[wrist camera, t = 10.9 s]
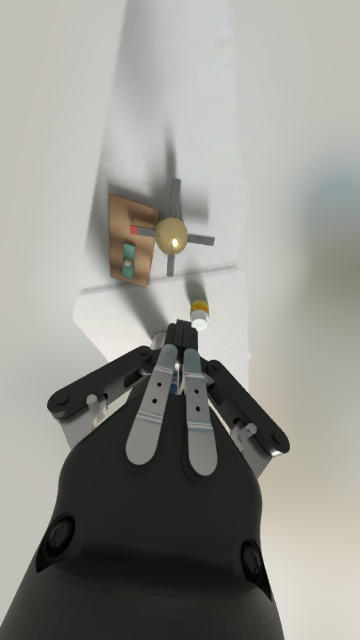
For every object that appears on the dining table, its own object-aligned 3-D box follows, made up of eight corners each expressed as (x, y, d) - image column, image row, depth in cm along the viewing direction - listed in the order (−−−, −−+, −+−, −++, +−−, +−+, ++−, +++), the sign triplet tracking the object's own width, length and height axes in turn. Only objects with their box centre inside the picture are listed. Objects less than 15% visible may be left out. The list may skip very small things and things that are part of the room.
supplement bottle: (207, 313, 47) (208, 333, 40) (190, 311, 48) (188, 331, 40) (209, 298, 44) (211, 317, 37) (191, 297, 45) (189, 315, 37)
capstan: (222, 188, 29) (228, 184, 24) (204, 273, 39) (205, 284, 34) (135, 176, 29) (121, 170, 24) (140, 263, 40) (130, 273, 34)
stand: (148, 283, 43) (143, 291, 40) (114, 273, 43) (106, 280, 39) (159, 210, 32) (154, 210, 29) (114, 194, 32) (102, 193, 28)
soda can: (180, 372, 69) (177, 398, 59) (181, 380, 73) (178, 406, 63) (166, 370, 69) (160, 396, 60) (167, 379, 74) (162, 404, 64)
